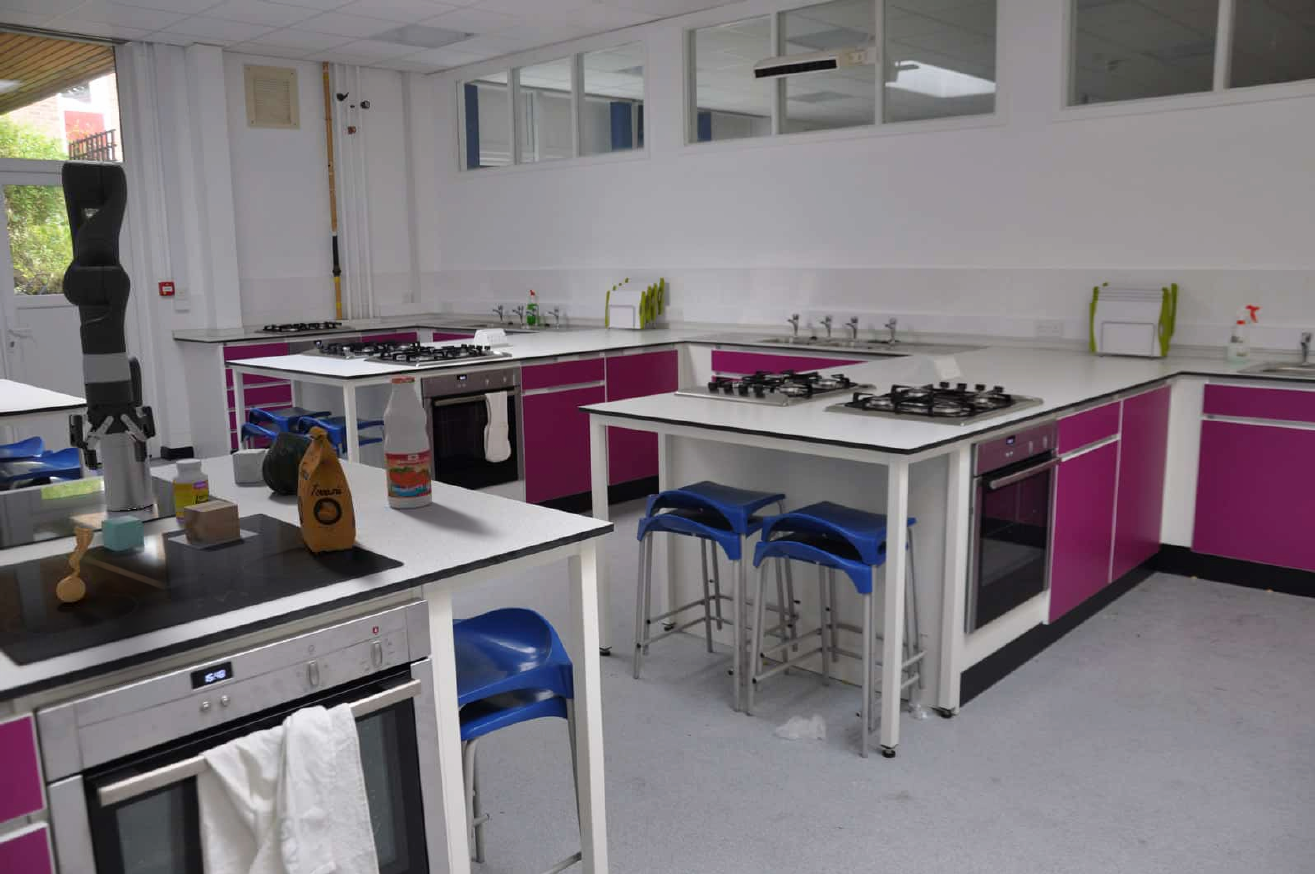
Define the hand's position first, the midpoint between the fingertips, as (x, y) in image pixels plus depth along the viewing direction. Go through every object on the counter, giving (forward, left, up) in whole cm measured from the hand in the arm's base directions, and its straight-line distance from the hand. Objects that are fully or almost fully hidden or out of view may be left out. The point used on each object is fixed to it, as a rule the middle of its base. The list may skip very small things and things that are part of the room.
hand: (117, 465), depth 186 cm
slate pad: (+8, +13, -16) cm, 22 cm away
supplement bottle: (-10, +19, -16) cm, 27 cm away
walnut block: (+8, +13, -15) cm, 21 cm away
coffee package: (+29, +24, -16) cm, 41 cm away
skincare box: (-38, +49, -16) cm, 64 cm away
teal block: (0, 0, -16) cm, 16 cm away
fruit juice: (+16, +54, -16) cm, 58 cm away
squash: (-17, +48, -16) cm, 53 cm away
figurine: (+23, -18, -16) cm, 34 cm away
